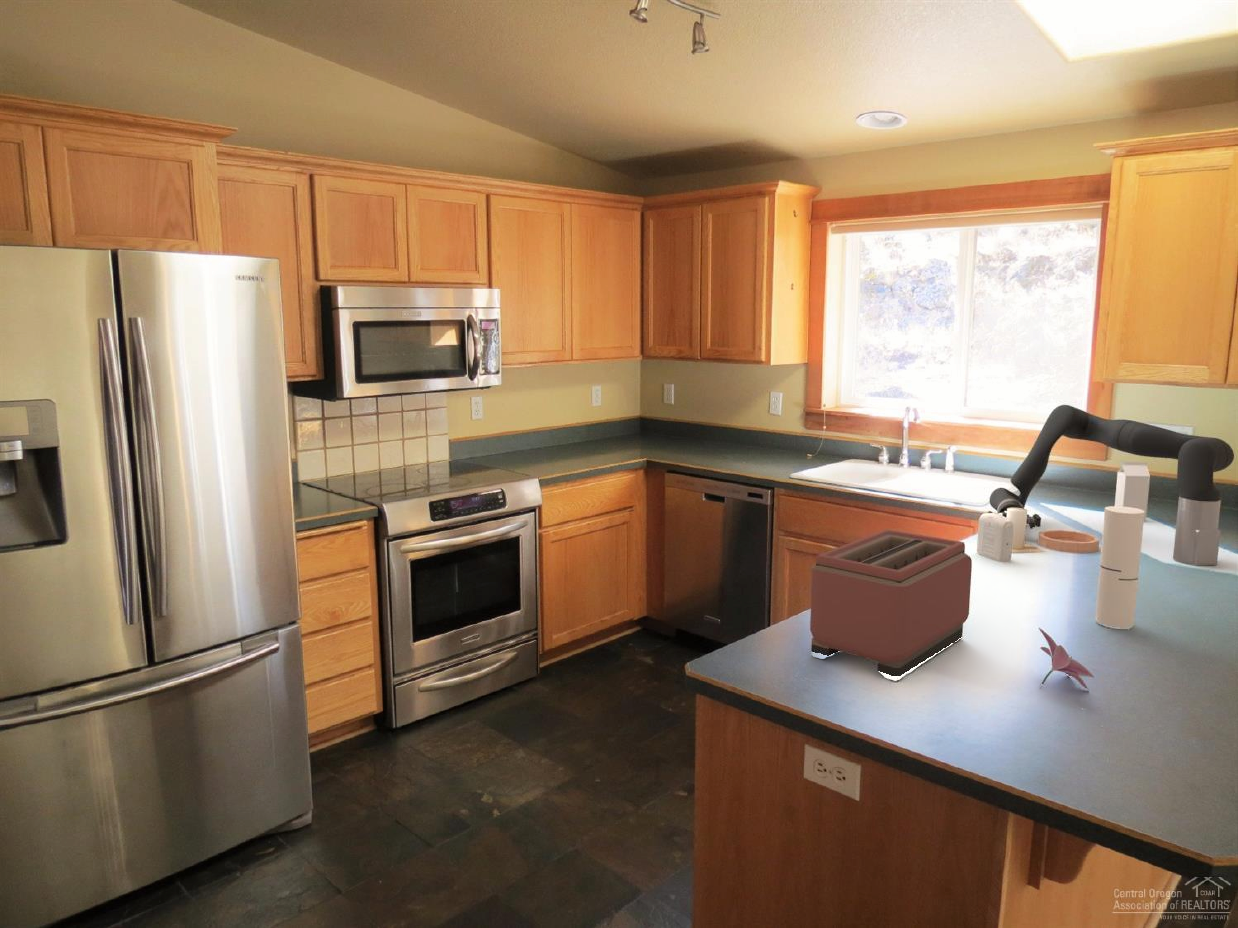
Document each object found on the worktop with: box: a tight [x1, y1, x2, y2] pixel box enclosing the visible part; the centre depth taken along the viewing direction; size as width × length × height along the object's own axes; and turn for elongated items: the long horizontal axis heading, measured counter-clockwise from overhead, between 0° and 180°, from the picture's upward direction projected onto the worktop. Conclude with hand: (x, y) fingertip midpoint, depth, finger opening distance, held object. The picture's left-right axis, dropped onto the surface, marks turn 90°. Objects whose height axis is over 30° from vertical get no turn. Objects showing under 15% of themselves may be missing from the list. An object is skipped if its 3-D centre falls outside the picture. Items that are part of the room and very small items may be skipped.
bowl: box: [1037, 529, 1100, 554], centre depth 242 cm, size 15×15×3 cm
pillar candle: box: [1006, 508, 1028, 549], centre depth 240 cm, size 5×5×11 cm
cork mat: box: [1012, 541, 1047, 554], centre depth 241 cm, size 12×12×1 cm
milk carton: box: [1114, 461, 1151, 522], centre depth 274 cm, size 7×7×19 cm
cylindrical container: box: [1094, 505, 1145, 628], centre depth 178 cm, size 7×7×25 cm
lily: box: [1038, 627, 1095, 690], centre depth 149 cm, size 12×12×10 cm
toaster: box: [809, 528, 973, 676], centre depth 168 cm, size 19×36×21 cm, turn 136°
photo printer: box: [976, 512, 1014, 563], centre depth 231 cm, size 10×4×12 cm, turn 17°
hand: (1015, 524), depth 242 cm, fingers open, 8 cm apart
